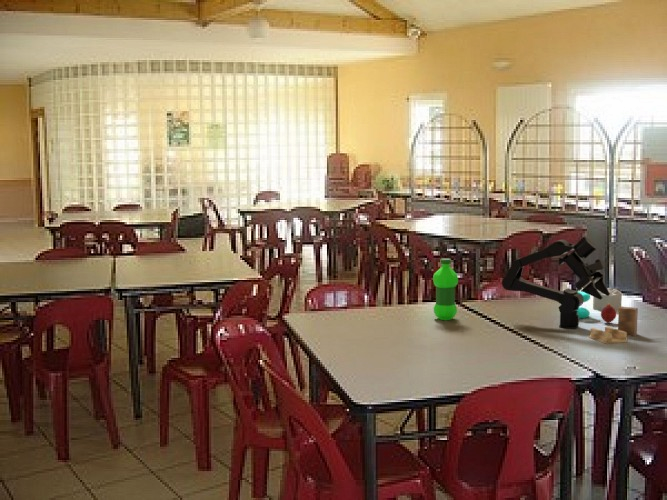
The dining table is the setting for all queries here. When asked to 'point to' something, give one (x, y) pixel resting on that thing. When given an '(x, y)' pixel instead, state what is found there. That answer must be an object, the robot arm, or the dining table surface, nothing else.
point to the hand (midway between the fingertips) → (605, 297)
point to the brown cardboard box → (628, 320)
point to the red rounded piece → (608, 313)
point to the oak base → (608, 335)
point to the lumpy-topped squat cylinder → (608, 300)
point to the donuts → (582, 311)
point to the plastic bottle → (445, 291)
